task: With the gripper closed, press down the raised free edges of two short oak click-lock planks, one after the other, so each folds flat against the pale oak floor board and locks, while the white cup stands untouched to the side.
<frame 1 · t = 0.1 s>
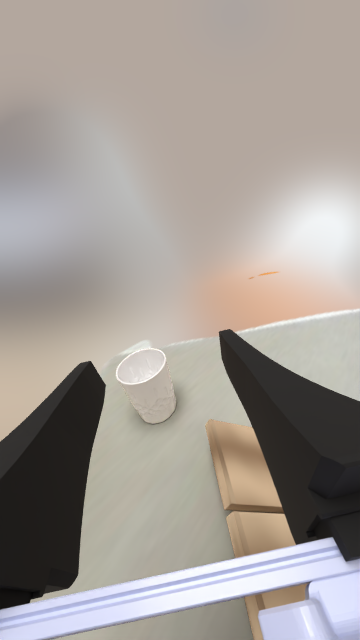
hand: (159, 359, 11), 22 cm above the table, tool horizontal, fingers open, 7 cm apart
white cup: (158, 406, 34), on the table
plank a: (294, 591, 14), point 3 cm above the table, hinge at 35.0°
plank b: (246, 461, 21), point 3 cm above the table, hinge at 35.0°
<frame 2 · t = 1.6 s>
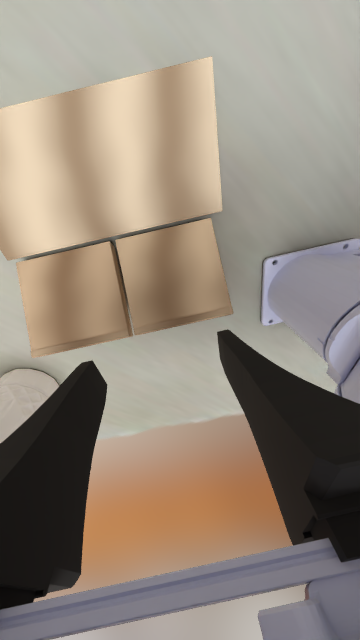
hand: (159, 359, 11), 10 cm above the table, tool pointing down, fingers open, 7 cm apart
white cup: (33, 385, 25), on the table
plank a: (173, 277, 16), point 3 cm above the table, hinge at 35.0°
plank b: (75, 300, 16), point 3 cm above the table, hinge at 35.0°
floor board: (97, 177, 14), on the table
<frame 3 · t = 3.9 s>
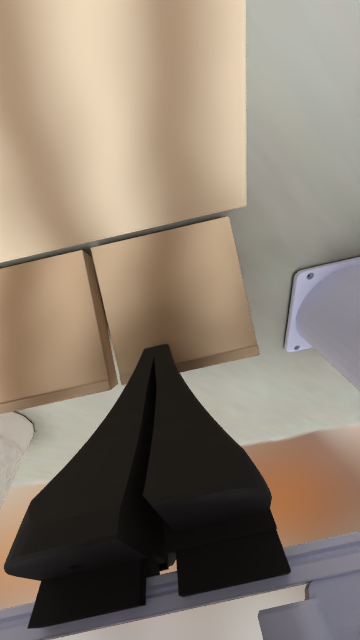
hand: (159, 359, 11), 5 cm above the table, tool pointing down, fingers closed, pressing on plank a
plank a: (175, 302, 11), point 3 cm above the table, hinge at 31.7°, touching gripper
plank b: (34, 334, 11), point 3 cm above the table, hinge at 35.0°
floor board: (59, 154, 9), on the table
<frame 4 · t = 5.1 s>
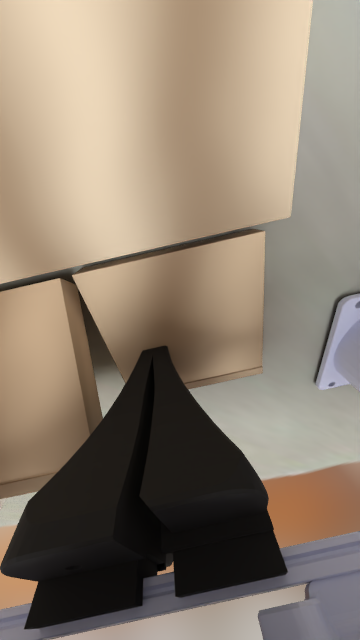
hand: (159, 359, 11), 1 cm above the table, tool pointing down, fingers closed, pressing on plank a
plank a: (184, 327, 10), point 1 cm above the table, hinge at 2.3°, touching gripper
floor board: (22, 144, 6), on the table
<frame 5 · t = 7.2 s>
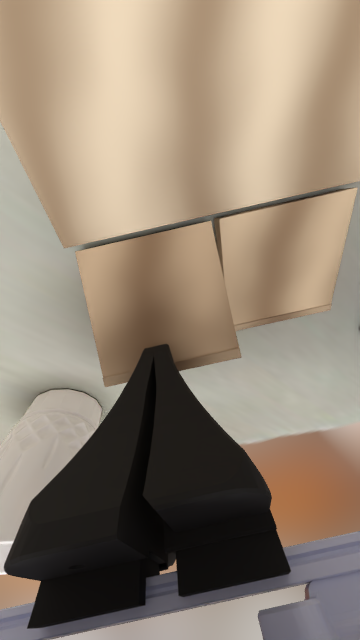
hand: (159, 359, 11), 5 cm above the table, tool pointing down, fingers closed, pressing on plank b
white cup: (69, 407, 20), on the table
plank a: (278, 269, 13), point 1 cm above the table, hinge at 2.2°
plank b: (159, 305, 12), point 3 cm above the table, hinge at 32.1°, touching gripper
floor board: (206, 122, 10), on the table
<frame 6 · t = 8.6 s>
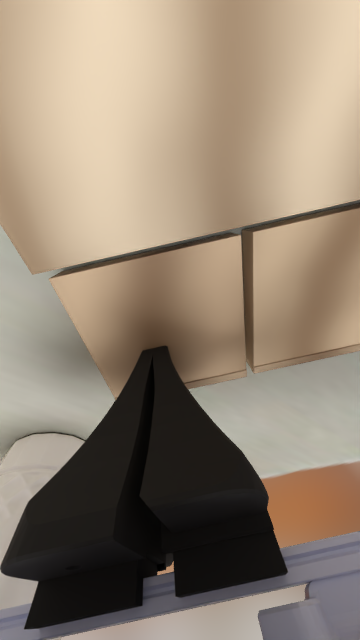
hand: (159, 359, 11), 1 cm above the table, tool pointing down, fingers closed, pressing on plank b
white cup: (56, 450, 17), on the table
plank a: (323, 295, 10), point 1 cm above the table, hinge at 2.2°
plank b: (166, 331, 10), point 1 cm above the table, hinge at 2.9°, touching gripper
floor board: (239, 90, 6), on the table
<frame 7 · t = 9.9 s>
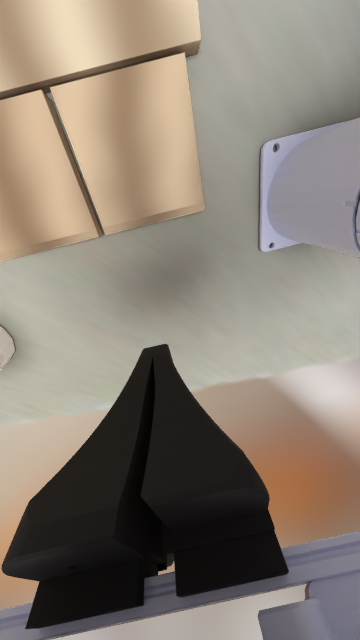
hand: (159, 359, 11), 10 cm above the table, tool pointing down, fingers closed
plank a: (139, 160, 13), point 1 cm above the table, hinge at 2.2°
plank b: (23, 189, 13), point 1 cm above the table, hinge at 2.8°
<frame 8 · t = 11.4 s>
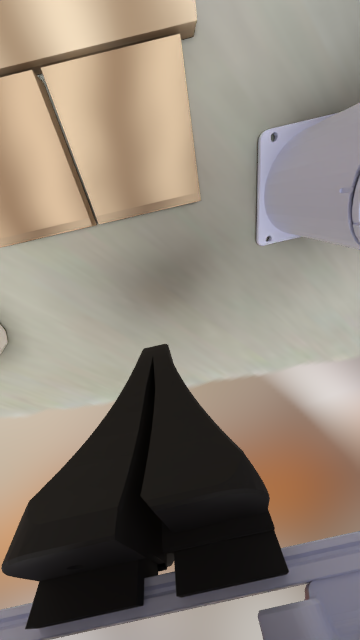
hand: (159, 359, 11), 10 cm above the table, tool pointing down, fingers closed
plank a: (133, 146, 13), point 1 cm above the table, hinge at 2.2°
plank b: (14, 175, 13), point 1 cm above the table, hinge at 2.8°
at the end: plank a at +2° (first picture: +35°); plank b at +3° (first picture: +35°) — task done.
